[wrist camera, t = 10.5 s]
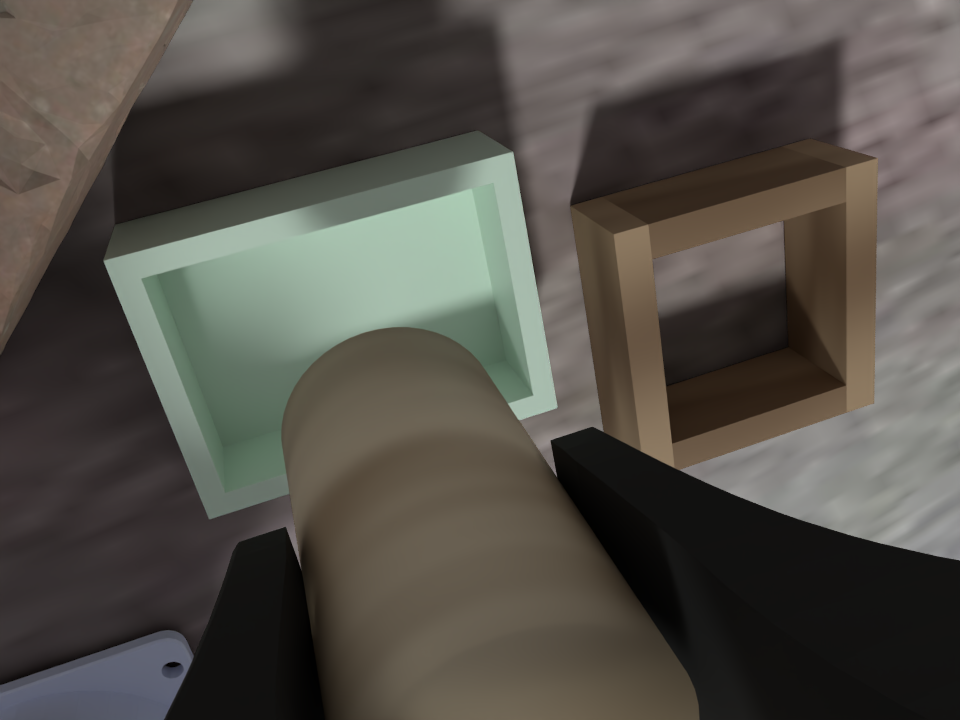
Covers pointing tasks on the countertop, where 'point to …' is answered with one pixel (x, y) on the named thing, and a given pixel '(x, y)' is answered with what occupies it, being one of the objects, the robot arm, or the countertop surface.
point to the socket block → (809, 285)
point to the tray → (325, 295)
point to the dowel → (454, 552)
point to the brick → (64, 118)
